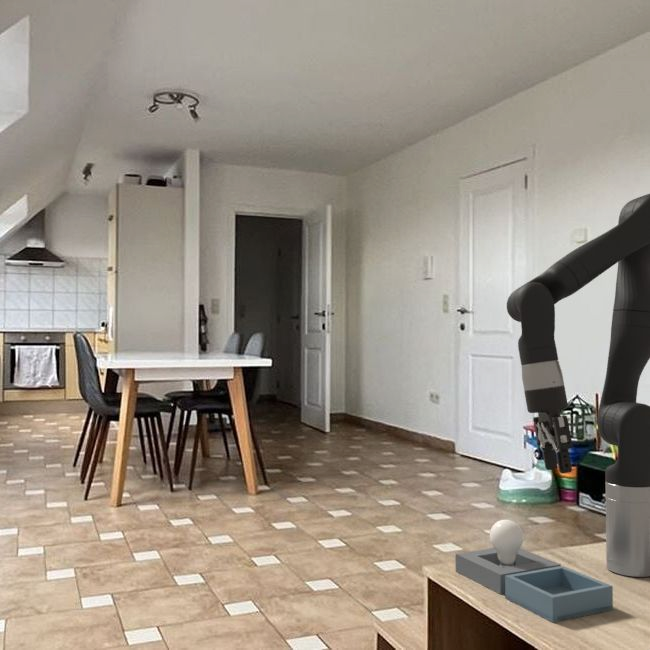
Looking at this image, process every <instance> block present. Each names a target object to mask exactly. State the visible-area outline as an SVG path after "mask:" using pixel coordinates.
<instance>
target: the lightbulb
mask: <svg viewBox="0 0 650 650" xmlns="http://www.w3.org/2000/svg"><path fill="white" fill-rule="evenodd" d="M524 537H525V536H524V532H523V530H522V528H521V527H520V525H519V524H518V523H517V522H515V521H513V520H511V519H506V518H504V519H501V520H498V521H496V522H495V523H494V524H493V525H492V526H491V528H490V532H489V540H490V543H491V545H492V548H495V550H496V552H497V555H498V559H499V561H500V566H501V567H503V568H504V567H510V566H514V561H515V559H516V554H517V552H518V551H519V549H520V548H521V549H522V546H523V543H524V539H525V538H524Z"/></svg>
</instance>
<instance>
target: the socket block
mask: <svg viewBox="0 0 650 650" xmlns="http://www.w3.org/2000/svg"><path fill="white" fill-rule="evenodd" d="M558 566H562V564H561V563H558V562H556V561H553V560H551V559H547V558H546V557H543V556H540V555H538V554H536V553H534V552H530V551H528V550H526V549H523V548H522V547H521V548H520V549H519V551H518V552H517V554H516V559H515V561H514V566H510V567H504V568H503V567H501V566H500V561H499V559H498V555H497V552H496V550H495V548H494V547H491V548H485V549H478V550H472V551H465V552H459V553H458V552H457V553H455V572H456V573H458V574H460V575H462V576H464V577H465V578H467V579H469V580H471V581H473V582H476V583H477V584H480V585H482V586H484V587H486V588H488V589H490V590H491V591H493V592H495V593H496V594H499V595H504V594H505V576H506V575H512V574H518V573H523V572H529V571H535V570H541V569H547V568H552V567H558Z"/></svg>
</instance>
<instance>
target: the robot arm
mask: <svg viewBox="0 0 650 650" xmlns="http://www.w3.org/2000/svg"><path fill="white" fill-rule="evenodd" d="M615 265H617V271H616V272H617V273H616V282H615V293H614V302H613V303H614V304H613V309H612V317H611V318H612V319H611V327H610V341H609V348H608V355H607V357H608V358H607V367H606V374H605V379H604V383H603V388H602V393H601V397H600V401H599V407H598V413H597V419H596V421H597V422H596V424H597V425H596V426H597V431H598V433H599V436H600V437H601V438H602V440H603V441H604V442H606V443H607V444H609V445H611V446H615V447H617V448H618V450H617V459H616V461H615V462H614V463H613V464H609V465H608V466H607V467H606V469H605V473H604V474H605V475H604V476H605V477H604V478H605V479H604V480H605V539H606V540H605V541H606V542H605V543H606V546H605V548H606V550H605V552H606V557H605V558H606V559H605V560H606V568H607V570H609V571H611V572H613V573H615V574H618V575H621V576H628V577H636V578H637V577H638V578H639V577H640V578H645V577H650V405H648V404H645V403H641V402H637V397H638V389H639V381H640V377H642V373H643V371H644V369H645V367H646V365H647V364H648V362H649V360H650V193H647V194H644V195H641V196H639V197H636V198H633V199H631V200H629V201H628V202H627V203H625V204H624V205H623V206H622V208H621V210H620V213H619V217H618V224H617V225H616V226H614V227H612V228H610V229H609V230H607V231H606V232H604V233H602V234H601V235H598V236H597V237H595V238H593V239H591V240H589V241H587V242H586V243H584V244H582V245H580V246H578V247H577V248H575V249H573V250H572V251H570V252H568V253H567V254H566V255H565V256H563V257H561V258H560V259H559V260H557V261H556V262H554V263H553V264H552V265H551V266H549V267H548V268H547V269H546V270H545V271H544V272H542V273H540V274H539V275H538V276H536V277H535V278H533V279H531V280H529V281H527V282H526V283H524V284H523V285H521V286H519V287H517V288H516V289H515V290H514V291H512V293H510V295H509V296H508V298H507V301H506V310H507V313H508V315H509V316H510V318H511V319H512V320H514V321H516V322H518V323H520V327H521V335H520V336H519V338H518V342H517V344H518V345H517V348H518V353H519V355H518V356H519V358H520V359H519V360H520V365H521V366H520V367H521V378H522V379H521V380H522V384H523V391H524V397H525V403H526V407H527V408H526V409H527V412H528V413H529V414H535V413H536V414H537V416H534V417H533V419H532V421H533V426H534V432H535V439H536V446H537V447H538V448H539V449H540V450H541V451H542V457H543V463H544V467H545V469H546V470H547V471H552V470H556V469H558V472H559V473H560V474H569V473H572V471H573V467H572V461H571V456H570V451H571V449H573V448H574V445H573V439H572V435H571V430H570V424H569V420H568V416H567V415H562V416H561V413H560V410H566V409H567V408H568V407H569V404H568V398H567V393H566V387H565V382H564V376H563V372H562V368H561V365H560V362H559V356H558V350H557V345H556V342H555V341H556V339H555V330H556V311H555V310H556V307H555V305H556V304H557V303H558V302H560V301H561V300H564V299H566V298H568V297H570V296H572V295H574V294H575V293H577V292H578V291H579V290H581V289H582V288H584V287H585V286H587V285H588V284H590V283H591V282H592V281H594V280H595V279H597V278H598V277H599V276H601V275H602V274H603V273H604V272H607V270H609V269H610V268H612V267H613V266H615Z"/></svg>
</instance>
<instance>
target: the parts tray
mask: <svg viewBox="0 0 650 650" xmlns="http://www.w3.org/2000/svg"><path fill="white" fill-rule="evenodd" d="M613 591H614V589H613V585H611V584H609V583H606V582H603V581H601V580H598V579H596V578H594V577H591V576H588V575H587V574H583V573H580V572H578V571H576V570H573V569H571V568H569V567H565V566H563V565H561V566H558V567H552V568H547V569H541V570H535V571H529V572H523V573H518V574H512V575H506V576H505V595H504V597H505V599H506V600H508V601H510V602H512V603H514V604H516V605H518V606H520V607H521V608H523V609H525V610H527V611H529V612H530V613H534V614H535V615H537V616H539V617H541V618H544V619H545V620H547V621H549V622H551V623H558V622H561V621H567V620H571V619H575V618H582V617H586V616H591V615H595V614H599V613H605V612H610V611H613V610H614V608H613V605H614V601H613V600H614V599H613V598H614V596H613V593H614V592H613Z"/></svg>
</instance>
